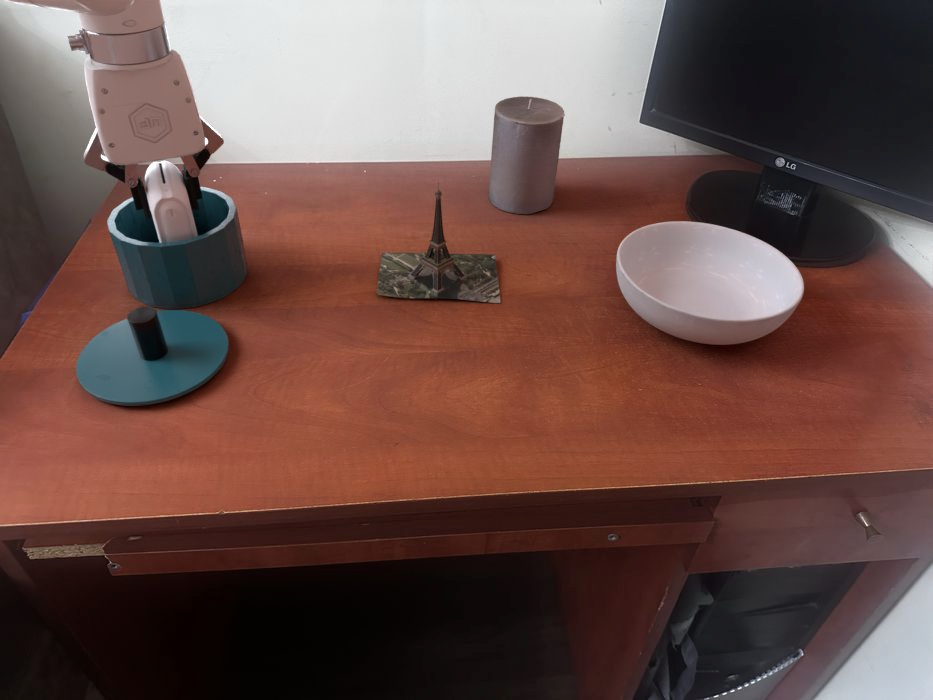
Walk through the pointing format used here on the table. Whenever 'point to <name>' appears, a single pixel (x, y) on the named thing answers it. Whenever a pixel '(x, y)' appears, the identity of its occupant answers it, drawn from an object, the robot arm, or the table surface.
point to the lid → (152, 357)
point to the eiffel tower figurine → (439, 271)
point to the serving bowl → (707, 282)
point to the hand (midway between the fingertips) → (170, 207)
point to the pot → (181, 254)
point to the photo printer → (169, 202)
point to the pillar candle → (525, 154)
